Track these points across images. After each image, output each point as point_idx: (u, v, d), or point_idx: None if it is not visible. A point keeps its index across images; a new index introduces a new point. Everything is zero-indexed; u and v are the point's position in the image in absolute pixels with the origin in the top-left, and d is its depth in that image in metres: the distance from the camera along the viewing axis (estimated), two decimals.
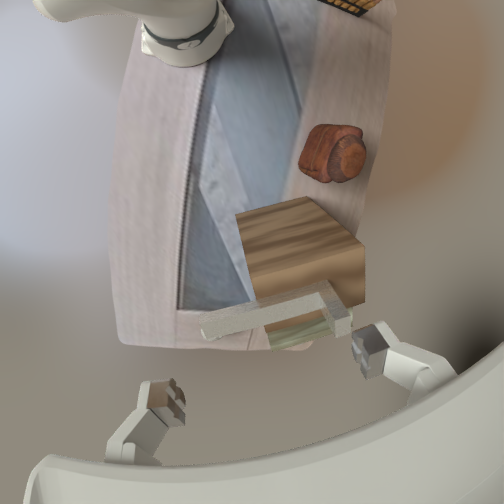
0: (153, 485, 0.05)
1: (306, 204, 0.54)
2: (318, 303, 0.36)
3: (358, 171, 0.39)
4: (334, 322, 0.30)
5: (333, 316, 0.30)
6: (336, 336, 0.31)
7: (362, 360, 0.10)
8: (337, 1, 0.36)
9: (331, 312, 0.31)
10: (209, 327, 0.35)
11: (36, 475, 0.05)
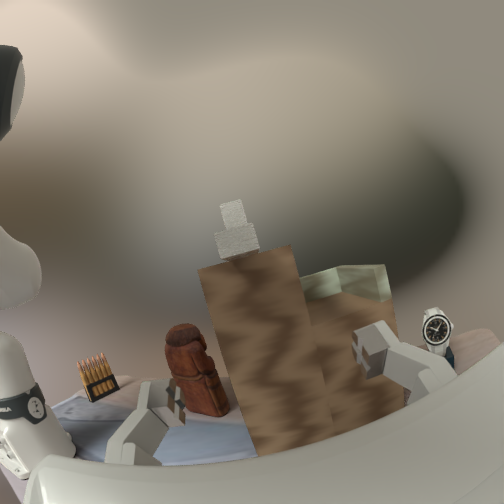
0: (153, 485, 0.05)
1: None
2: None
3: (190, 324, 0.48)
4: (223, 205, 0.37)
5: (221, 210, 0.37)
6: None
7: (362, 360, 0.10)
8: (99, 389, 0.59)
9: (222, 215, 0.37)
10: None
11: (36, 475, 0.05)
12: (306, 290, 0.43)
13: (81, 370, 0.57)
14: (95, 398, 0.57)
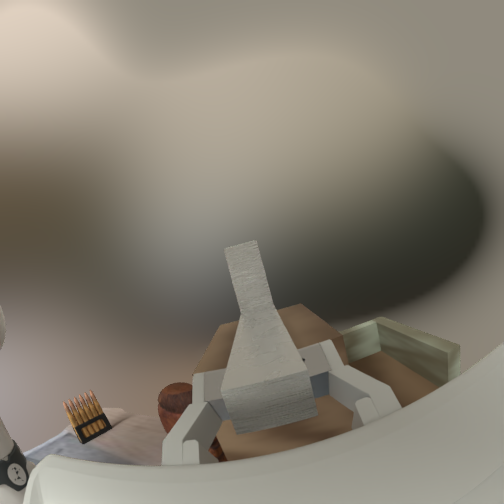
0: (153, 485, 0.05)
1: None
2: (262, 308, 0.24)
3: (188, 384, 0.36)
4: (229, 249, 0.25)
5: (226, 257, 0.25)
6: (253, 241, 0.25)
7: None
8: (89, 429, 0.47)
9: (228, 265, 0.25)
10: (249, 373, 0.09)
11: (36, 475, 0.05)
12: None
13: (68, 411, 0.44)
14: (86, 439, 0.44)
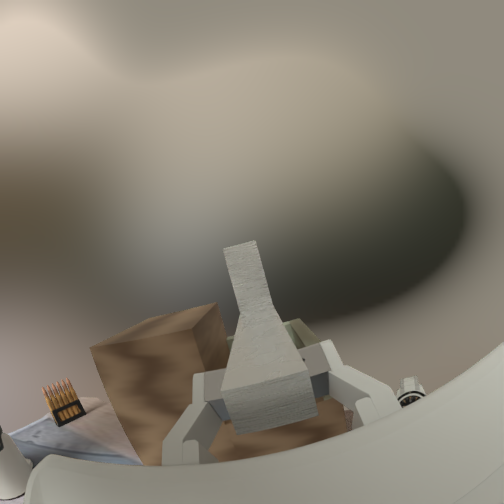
0: (153, 485, 0.05)
1: None
2: (261, 308, 0.24)
3: None
4: (228, 250, 0.25)
5: (225, 257, 0.25)
6: (252, 241, 0.25)
7: None
8: (65, 414, 0.50)
9: (227, 265, 0.25)
10: (249, 373, 0.09)
11: (36, 475, 0.05)
12: None
13: (46, 395, 0.48)
14: (61, 423, 0.48)
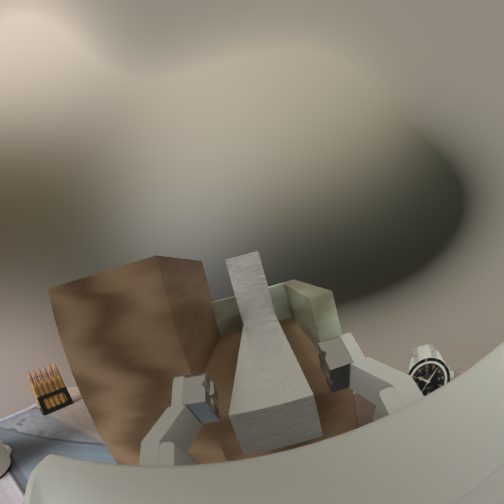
0: (153, 485, 0.05)
1: None
2: (264, 318, 0.24)
3: None
4: (231, 261, 0.24)
5: (228, 268, 0.25)
6: (255, 252, 0.25)
7: (327, 373, 0.10)
8: (51, 401, 0.47)
9: (230, 276, 0.25)
10: (256, 396, 0.09)
11: (36, 475, 0.05)
12: (239, 313, 0.31)
13: (31, 381, 0.45)
14: (47, 411, 0.45)
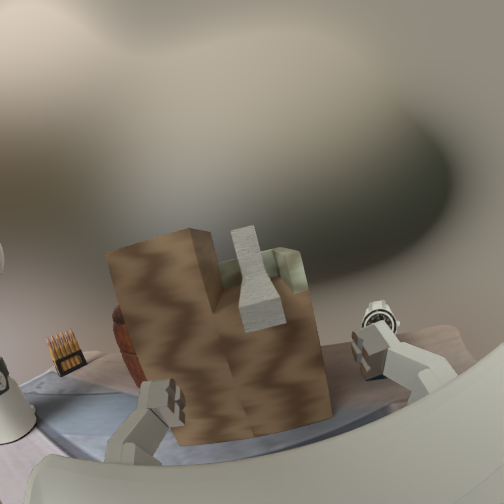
0: (153, 485, 0.05)
1: None
2: (257, 273, 0.35)
3: None
4: (234, 231, 0.35)
5: (232, 237, 0.35)
6: None
7: (362, 360, 0.10)
8: (67, 364, 0.60)
9: None
10: (251, 300, 0.20)
11: (36, 475, 0.05)
12: (238, 272, 0.42)
13: (50, 346, 0.57)
14: (63, 373, 0.58)
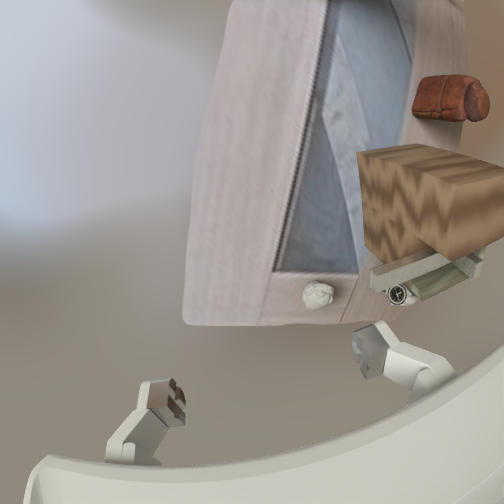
0: (153, 485, 0.05)
1: (427, 147, 0.42)
2: None
3: (487, 113, 0.27)
4: (475, 265, 0.31)
5: (473, 261, 0.31)
6: (473, 278, 0.31)
7: (362, 360, 0.10)
8: None
9: (470, 259, 0.32)
10: (382, 279, 0.36)
11: (36, 475, 0.05)
12: None
13: None
14: None
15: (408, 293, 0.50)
